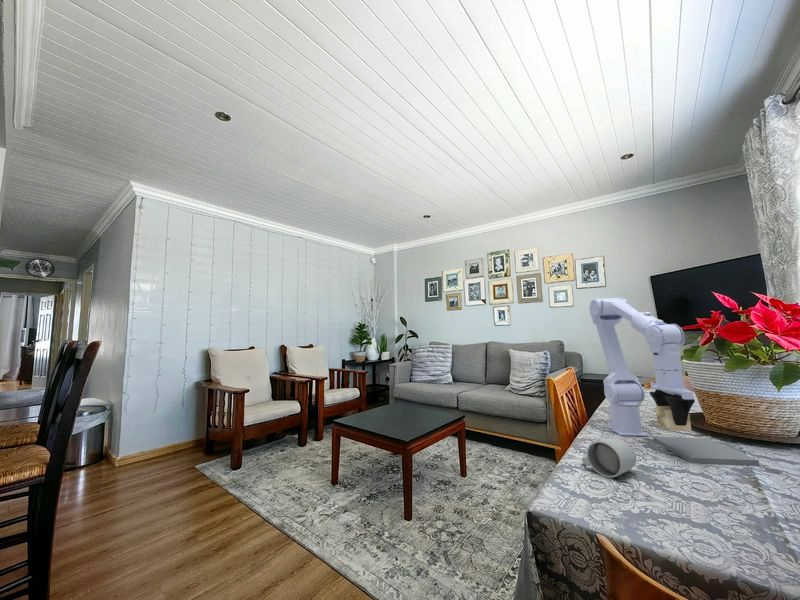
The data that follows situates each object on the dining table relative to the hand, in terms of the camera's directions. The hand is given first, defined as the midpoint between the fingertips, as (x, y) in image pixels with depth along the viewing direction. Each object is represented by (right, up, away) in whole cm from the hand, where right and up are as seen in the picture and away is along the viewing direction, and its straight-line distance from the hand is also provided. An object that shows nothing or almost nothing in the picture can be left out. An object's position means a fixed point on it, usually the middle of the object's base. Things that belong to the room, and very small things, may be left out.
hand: (673, 422), depth 84 cm
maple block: (0, -1, 0) cm, 2 cm away
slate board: (+8, -8, +1) cm, 11 cm away
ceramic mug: (-23, -9, -9) cm, 26 cm away
